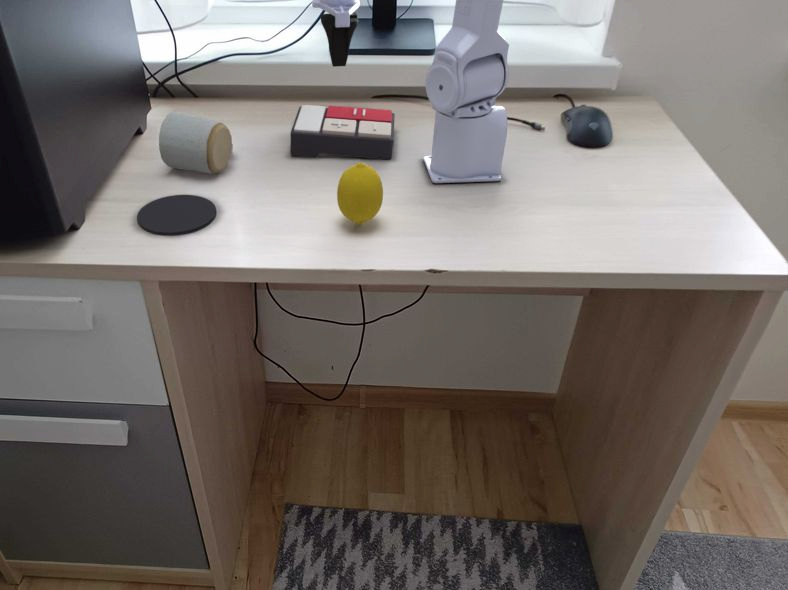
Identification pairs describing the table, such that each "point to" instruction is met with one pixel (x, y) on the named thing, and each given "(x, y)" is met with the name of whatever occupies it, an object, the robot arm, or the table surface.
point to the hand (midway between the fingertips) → (338, 65)
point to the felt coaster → (176, 214)
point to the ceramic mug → (194, 143)
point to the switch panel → (343, 132)
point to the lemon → (360, 193)
